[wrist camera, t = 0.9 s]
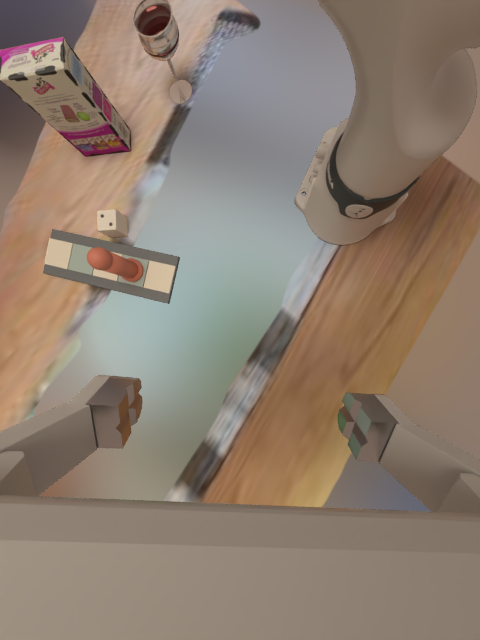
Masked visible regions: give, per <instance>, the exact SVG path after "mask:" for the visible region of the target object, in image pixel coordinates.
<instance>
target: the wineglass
mask: <svg viewBox="0 0 480 640" xmlns="http://www.w3.org/2000/svg"><path fill="white" fill-rule="evenodd" d="M172 13H173V12H172V6H171V4H170V3H169V1H168V0H141V1H140V2H139V4H138V5H137V6H136V8H135V10H134V13H133V25H134V27H135V29H136V31H137V32H138V34H139V39H140V42H141V44H142V46H143V47H144V49H145V51H146V52H147V53H148V54H149V55H150V56H151V57H152V58H154V59H156V60H159V61H167V62H168V65H169V67H170V69H171V72H172V74H173V77H174V79H175V81H176V82H175V83H173V85H172V86H171V88H170V92H169V94H170V98H171V100H172V101H173V102H175V103H180V104H181V103H184V102H186V101H187V100H188V99H189V98H190V96H191V94H192V87H191V85H190V83H189V82H188V81H186V80H177V77H176V74H175V71H174V68H173V65H172V62H171V58H172V57H173V56H174V54H175V52H176V50H177V47H178V44H179V30H178V26H177V22H176V20H175V18H174V16H173V14H172Z"/></svg>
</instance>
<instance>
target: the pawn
mask: <svg viewBox="0 0 480 640" xmlns="http://www.w3.org/2000/svg"><path fill="white" fill-rule="evenodd" d="M87 261H88V263H89V265H90V266H91V267H93V268H94V269H97V270H102V271H106V272H109V273H112V274H116V275H119V276H121V277H122V278H123V279H124V280H126V281H129V282H136V281H138V280H140V279H141V277H142V276H143V272H144V269H143V265H142V264H141V263H140V262H139V261H138V260H135V259H133V258H128V259H126V258H124V257H121V256H119V255H117V254H114V253H112V252H110V251H108V250H106V249H104V248H102V247H95V248H92V249H90V250H89V251H88V253H87Z"/></svg>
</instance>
